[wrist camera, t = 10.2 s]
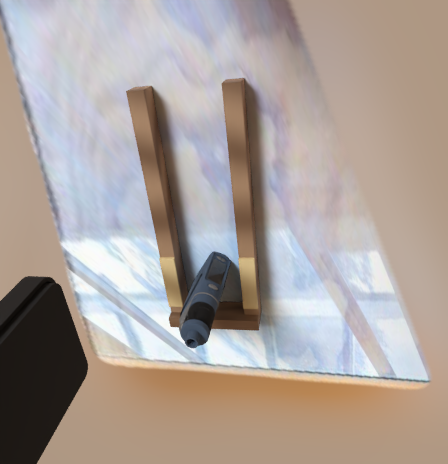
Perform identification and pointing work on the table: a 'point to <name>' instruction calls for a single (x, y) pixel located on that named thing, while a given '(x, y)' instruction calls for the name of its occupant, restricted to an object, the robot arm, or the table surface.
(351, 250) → the table surface
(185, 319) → the vaping device
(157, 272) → the table surface
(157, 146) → the rail channel
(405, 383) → the table surface
